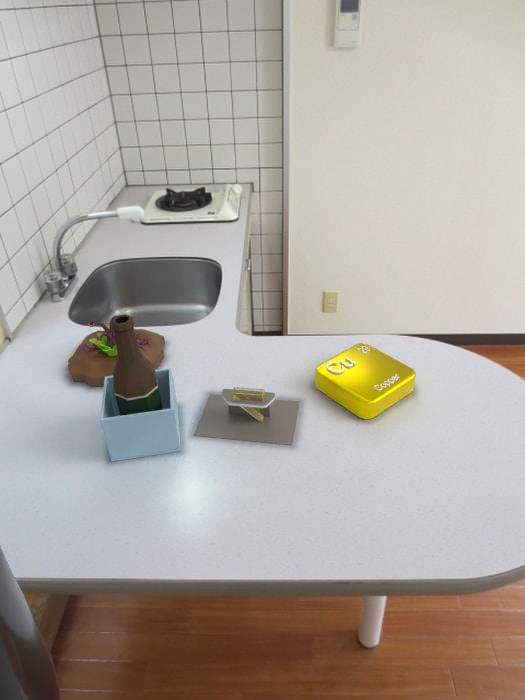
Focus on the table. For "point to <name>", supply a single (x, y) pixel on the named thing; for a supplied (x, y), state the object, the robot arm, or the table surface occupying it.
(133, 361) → the beer bottle
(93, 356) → the plant
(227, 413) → the platform
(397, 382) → the element tile
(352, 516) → the table surface
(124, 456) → the case
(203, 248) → the table surface
